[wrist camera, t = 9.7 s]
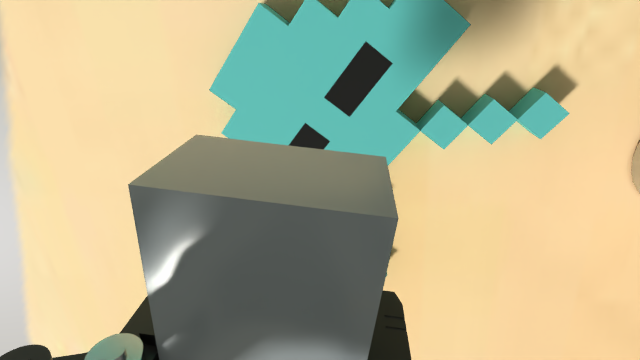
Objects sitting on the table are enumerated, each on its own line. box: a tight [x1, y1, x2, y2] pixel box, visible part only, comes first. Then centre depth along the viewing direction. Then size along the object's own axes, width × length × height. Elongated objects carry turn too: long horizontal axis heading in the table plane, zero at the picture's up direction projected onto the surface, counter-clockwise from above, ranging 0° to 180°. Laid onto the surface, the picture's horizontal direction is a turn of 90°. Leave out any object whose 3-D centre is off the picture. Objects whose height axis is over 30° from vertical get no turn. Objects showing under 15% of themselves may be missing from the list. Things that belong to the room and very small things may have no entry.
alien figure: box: [209, 0, 569, 276], centre depth 25 cm, size 20×2×20 cm
